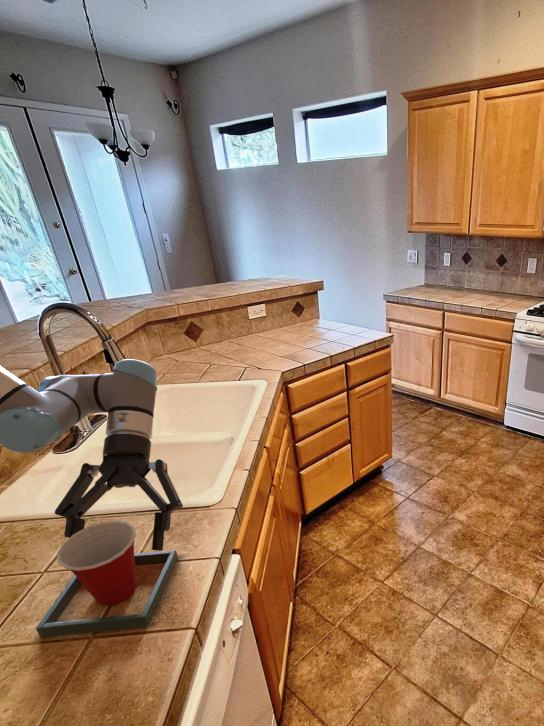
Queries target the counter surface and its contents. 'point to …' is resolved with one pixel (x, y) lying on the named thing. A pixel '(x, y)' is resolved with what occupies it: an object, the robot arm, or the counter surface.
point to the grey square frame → (52, 628)
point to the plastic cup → (103, 560)
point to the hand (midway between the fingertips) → (115, 553)
